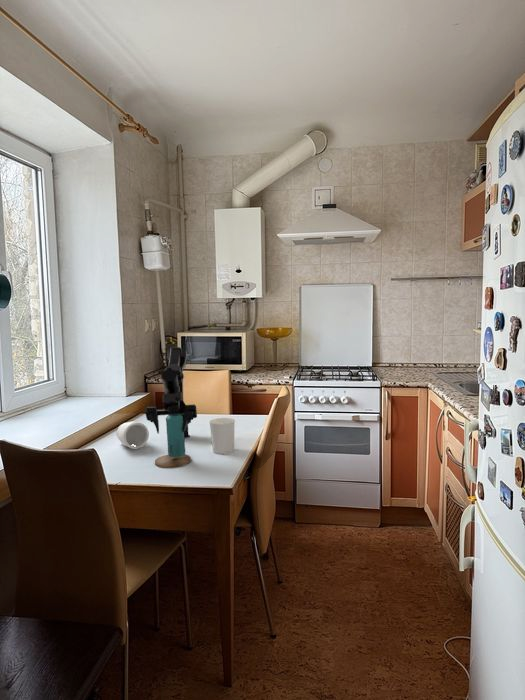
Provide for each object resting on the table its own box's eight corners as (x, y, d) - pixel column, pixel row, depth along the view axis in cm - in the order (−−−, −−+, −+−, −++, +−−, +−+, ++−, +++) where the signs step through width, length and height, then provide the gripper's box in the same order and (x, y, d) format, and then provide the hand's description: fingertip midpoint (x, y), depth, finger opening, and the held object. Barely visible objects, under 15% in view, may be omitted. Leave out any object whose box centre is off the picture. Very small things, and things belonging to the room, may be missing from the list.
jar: (126, 449, 201) (136, 454, 189) (108, 434, 198) (117, 438, 185) (143, 430, 206) (154, 433, 193) (125, 415, 202) (136, 417, 189)
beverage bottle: (189, 456, 175) (186, 404, 174) (179, 462, 169) (176, 407, 167) (174, 455, 178) (171, 403, 176) (164, 460, 172) (160, 407, 170)
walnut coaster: (182, 453, 182) (182, 451, 182) (196, 462, 171) (196, 460, 171) (150, 460, 175) (150, 458, 175) (162, 470, 164) (161, 467, 164)
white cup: (226, 456, 177) (224, 425, 176) (206, 452, 183) (204, 422, 181) (240, 448, 186) (239, 419, 184) (221, 445, 191) (219, 416, 190)
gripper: (144, 386, 174) (141, 422, 164) (194, 383, 175) (194, 419, 165) (148, 402, 182) (146, 438, 172) (197, 399, 184) (197, 434, 174)
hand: (170, 432), depth 171 cm, fingers open, 9 cm apart
